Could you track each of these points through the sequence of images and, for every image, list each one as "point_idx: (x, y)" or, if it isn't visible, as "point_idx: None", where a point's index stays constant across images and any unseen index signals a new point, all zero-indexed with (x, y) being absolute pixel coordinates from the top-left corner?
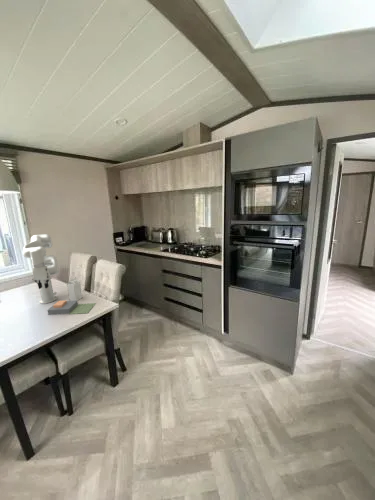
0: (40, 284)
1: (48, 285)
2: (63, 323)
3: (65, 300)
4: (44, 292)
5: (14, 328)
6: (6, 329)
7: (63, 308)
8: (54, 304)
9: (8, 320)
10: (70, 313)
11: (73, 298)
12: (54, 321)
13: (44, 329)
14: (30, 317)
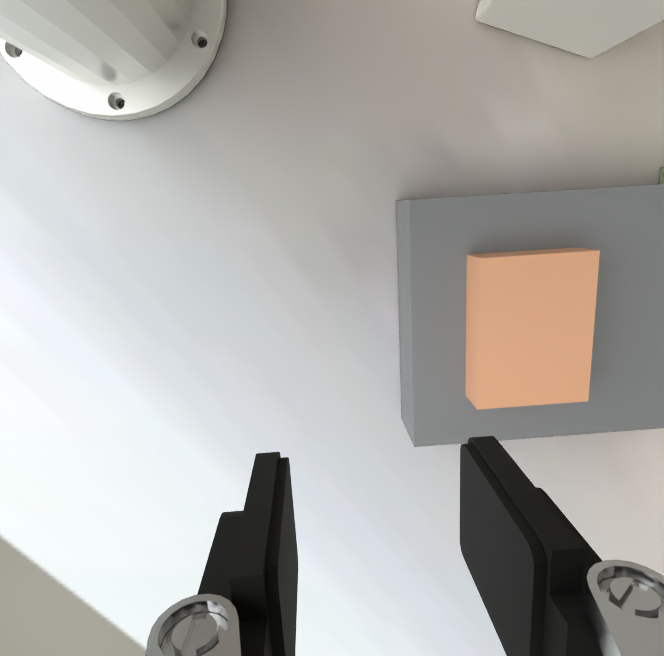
0: (286, 599)
1: (546, 494)
2: (651, 566)
3: (585, 255)
4: (52, 20)
5: None
6: None
7: (608, 415)
8: (479, 380)
9: (24, 517)
10: None
11: (571, 32)
12: None
13: None
14: (229, 465)
